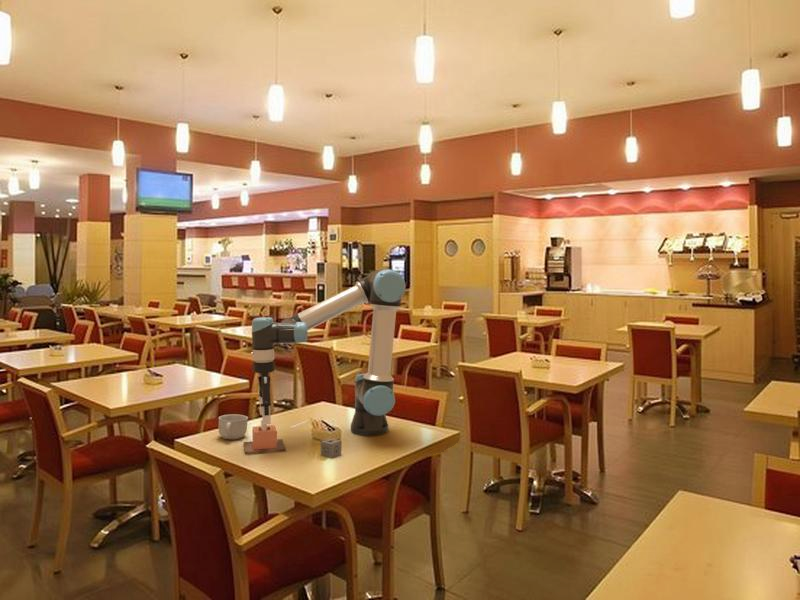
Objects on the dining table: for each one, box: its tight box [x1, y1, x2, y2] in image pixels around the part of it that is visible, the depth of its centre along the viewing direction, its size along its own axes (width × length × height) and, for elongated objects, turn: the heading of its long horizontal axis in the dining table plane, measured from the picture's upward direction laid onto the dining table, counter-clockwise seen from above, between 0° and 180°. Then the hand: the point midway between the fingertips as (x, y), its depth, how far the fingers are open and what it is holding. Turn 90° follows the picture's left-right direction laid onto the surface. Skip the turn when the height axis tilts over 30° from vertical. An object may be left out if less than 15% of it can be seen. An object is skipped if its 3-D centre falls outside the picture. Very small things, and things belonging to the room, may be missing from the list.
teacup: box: [218, 413, 249, 441], centre depth 221 cm, size 14×11×8 cm
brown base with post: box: [243, 419, 287, 456], centre depth 210 cm, size 14×12×10 cm
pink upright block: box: [251, 424, 278, 449], centre depth 210 cm, size 8×8×6 cm
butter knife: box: [289, 419, 310, 429], centre depth 249 cm, size 1×27×3 cm
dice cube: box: [320, 437, 342, 459], centre depth 203 cm, size 5×5×5 cm
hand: (265, 419), depth 210 cm, fingers open, 13 cm apart
